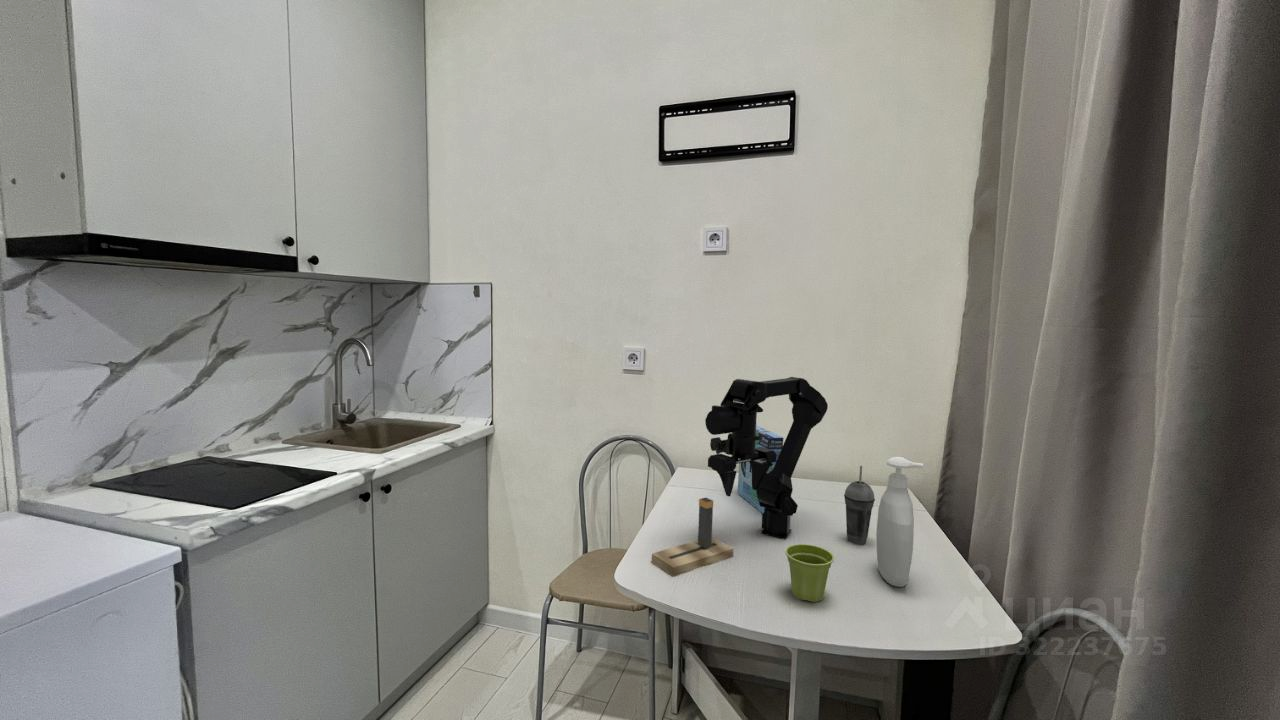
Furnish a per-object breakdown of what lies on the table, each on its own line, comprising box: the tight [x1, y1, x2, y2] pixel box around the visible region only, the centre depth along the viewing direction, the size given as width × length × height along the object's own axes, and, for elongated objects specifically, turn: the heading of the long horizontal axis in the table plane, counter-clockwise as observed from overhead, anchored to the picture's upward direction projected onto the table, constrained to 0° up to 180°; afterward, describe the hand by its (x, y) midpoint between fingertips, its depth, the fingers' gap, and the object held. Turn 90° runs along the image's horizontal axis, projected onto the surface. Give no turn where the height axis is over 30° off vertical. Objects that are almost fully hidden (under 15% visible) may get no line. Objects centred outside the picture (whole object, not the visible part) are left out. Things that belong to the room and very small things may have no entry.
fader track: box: [651, 537, 734, 577], centre depth 120 cm, size 18×8×2 cm, turn 125°
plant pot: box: [784, 543, 835, 603], centre depth 106 cm, size 9×9×9 cm
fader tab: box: [697, 497, 714, 548], centre depth 122 cm, size 2×3×11 cm
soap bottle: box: [875, 456, 924, 588], centre depth 113 cm, size 14×8×27 cm, turn 169°
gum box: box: [737, 424, 785, 514], centre depth 158 cm, size 20×5×23 cm, turn 13°
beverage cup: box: [843, 465, 876, 546], centre depth 132 cm, size 7×7×20 cm
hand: (741, 492), depth 129 cm, fingers open, 9 cm apart
